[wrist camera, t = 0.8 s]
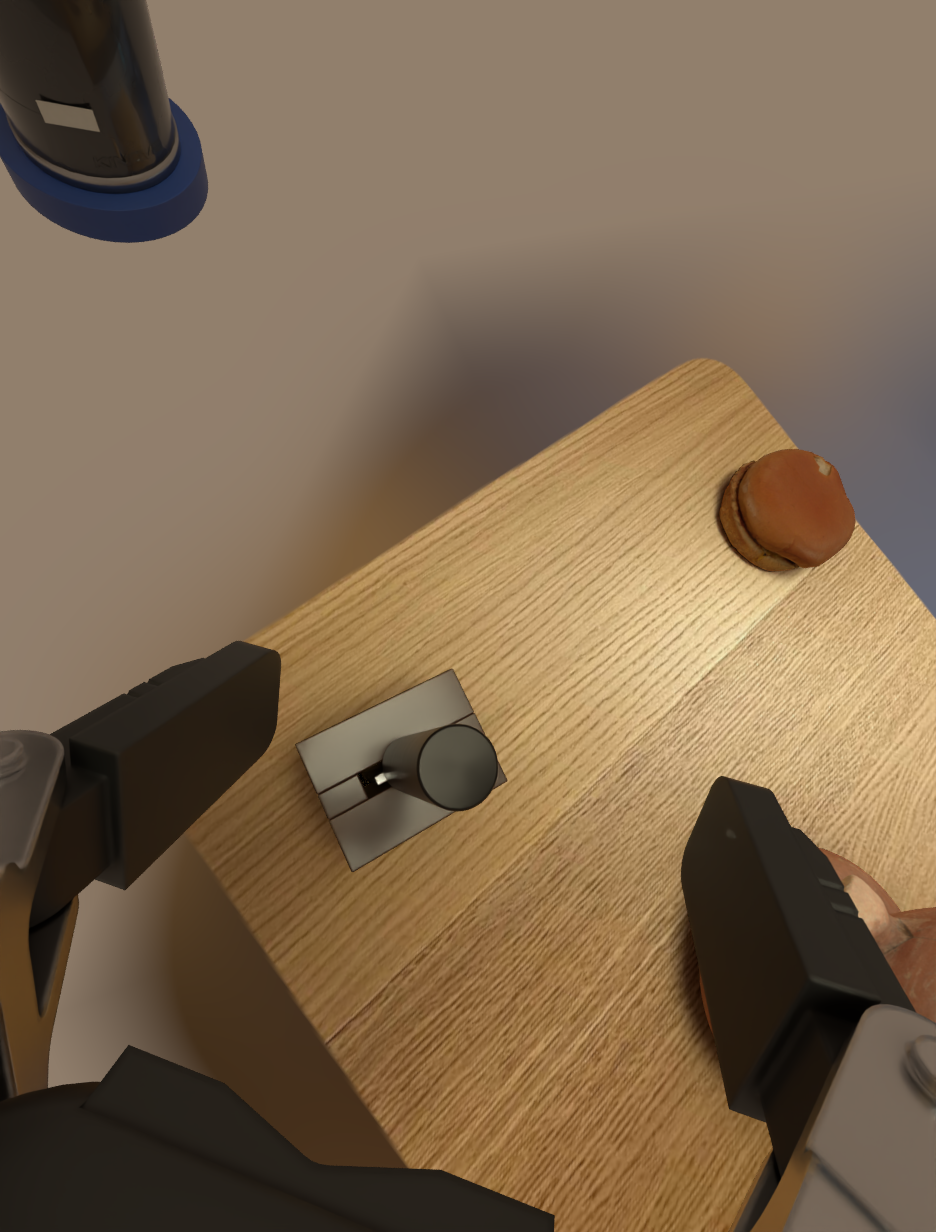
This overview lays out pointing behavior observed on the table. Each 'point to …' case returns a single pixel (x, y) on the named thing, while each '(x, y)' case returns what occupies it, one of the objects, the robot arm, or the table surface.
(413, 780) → the black tall cylinder
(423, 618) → the table surface
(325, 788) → the knife block
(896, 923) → the ceramic jug
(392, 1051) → the table surface
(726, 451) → the table surface
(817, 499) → the burger
